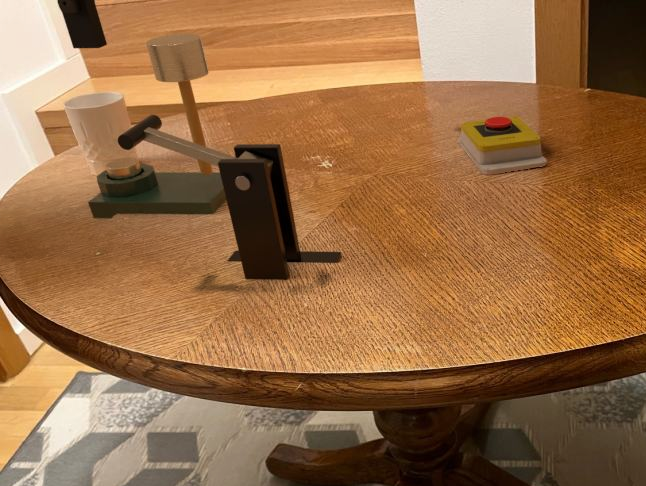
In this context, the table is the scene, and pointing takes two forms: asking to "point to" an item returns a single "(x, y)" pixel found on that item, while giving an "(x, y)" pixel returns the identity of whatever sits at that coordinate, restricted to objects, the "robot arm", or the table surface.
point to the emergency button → (501, 145)
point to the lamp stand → (182, 75)
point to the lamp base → (158, 193)
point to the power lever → (175, 143)
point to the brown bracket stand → (264, 214)
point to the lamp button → (123, 168)
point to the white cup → (99, 127)
